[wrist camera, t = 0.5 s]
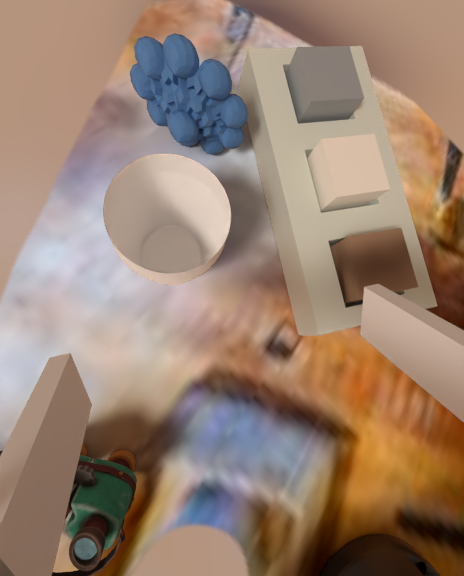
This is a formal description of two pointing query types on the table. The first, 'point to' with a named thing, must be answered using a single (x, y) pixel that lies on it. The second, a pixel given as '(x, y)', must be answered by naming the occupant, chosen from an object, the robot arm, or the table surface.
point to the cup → (167, 217)
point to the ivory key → (347, 172)
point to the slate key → (323, 84)
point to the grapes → (188, 94)
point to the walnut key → (373, 263)
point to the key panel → (303, 200)
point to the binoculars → (98, 509)
